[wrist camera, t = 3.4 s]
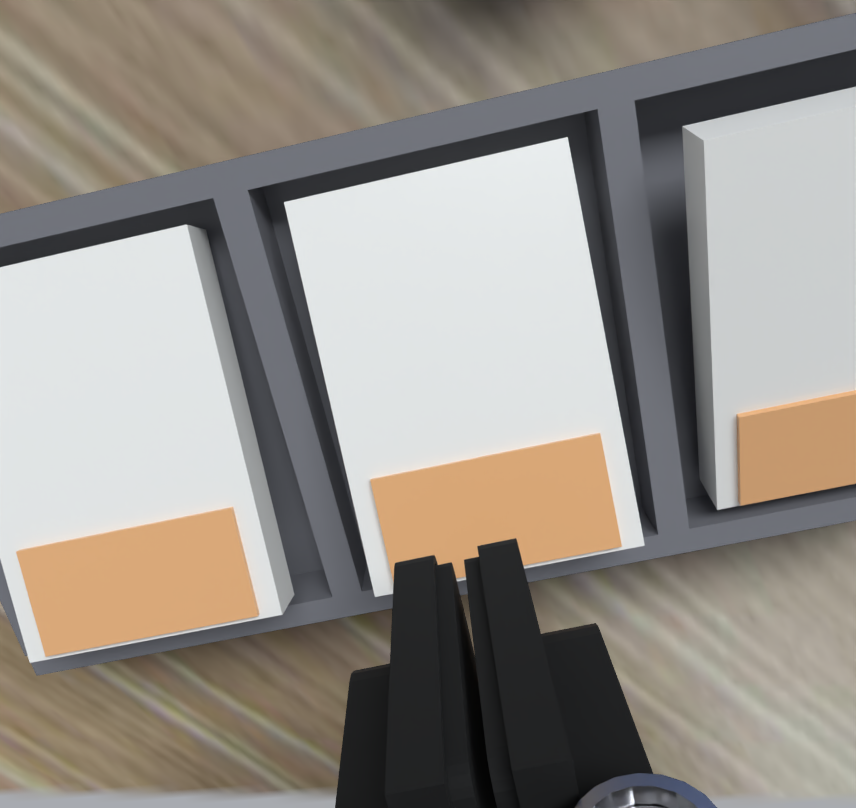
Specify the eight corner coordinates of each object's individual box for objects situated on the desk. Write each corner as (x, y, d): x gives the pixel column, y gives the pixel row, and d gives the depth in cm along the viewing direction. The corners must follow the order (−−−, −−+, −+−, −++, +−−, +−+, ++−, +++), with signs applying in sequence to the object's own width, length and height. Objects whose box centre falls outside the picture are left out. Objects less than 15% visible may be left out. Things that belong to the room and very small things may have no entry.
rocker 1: (209, 230, 15) (184, 224, 13) (296, 590, 15) (281, 617, 14) (-35, 286, 15) (-83, 285, 14) (62, 635, 16) (26, 666, 14)
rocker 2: (988, 53, 12) (1050, 64, 11) (938, 425, 16) (980, 463, 15) (678, 123, 13) (707, 142, 12) (696, 473, 16) (719, 513, 15)
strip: (1175, -59, 15) (1395, -116, 12) (1143, 377, 18) (1314, 436, 15) (-59, 230, 17) (-184, 255, 14) (87, 585, 20) (15, 682, 17)
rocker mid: (558, 151, 14) (568, 135, 13) (630, 526, 15) (646, 547, 14) (299, 210, 15) (282, 201, 13) (382, 574, 15) (373, 599, 14)
